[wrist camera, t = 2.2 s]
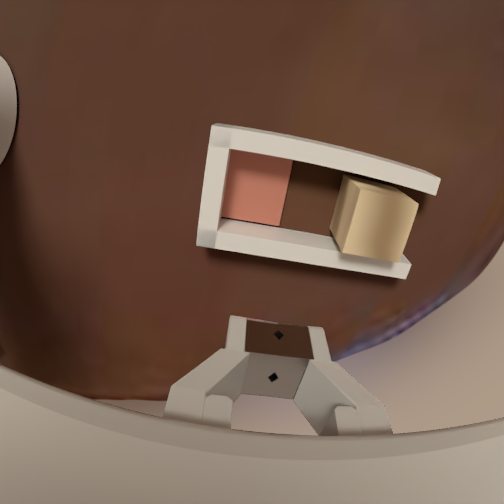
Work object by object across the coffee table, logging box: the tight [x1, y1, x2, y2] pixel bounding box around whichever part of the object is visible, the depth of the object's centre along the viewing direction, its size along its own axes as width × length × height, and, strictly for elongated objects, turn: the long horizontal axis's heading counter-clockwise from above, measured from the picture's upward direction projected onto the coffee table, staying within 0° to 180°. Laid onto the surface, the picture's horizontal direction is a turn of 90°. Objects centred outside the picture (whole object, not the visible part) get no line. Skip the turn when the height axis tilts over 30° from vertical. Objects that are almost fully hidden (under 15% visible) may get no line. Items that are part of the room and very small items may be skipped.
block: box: [330, 174, 419, 263], centre depth 25 cm, size 5×5×5 cm
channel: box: [196, 123, 440, 279], centre depth 26 cm, size 18×10×3 cm, turn 80°
